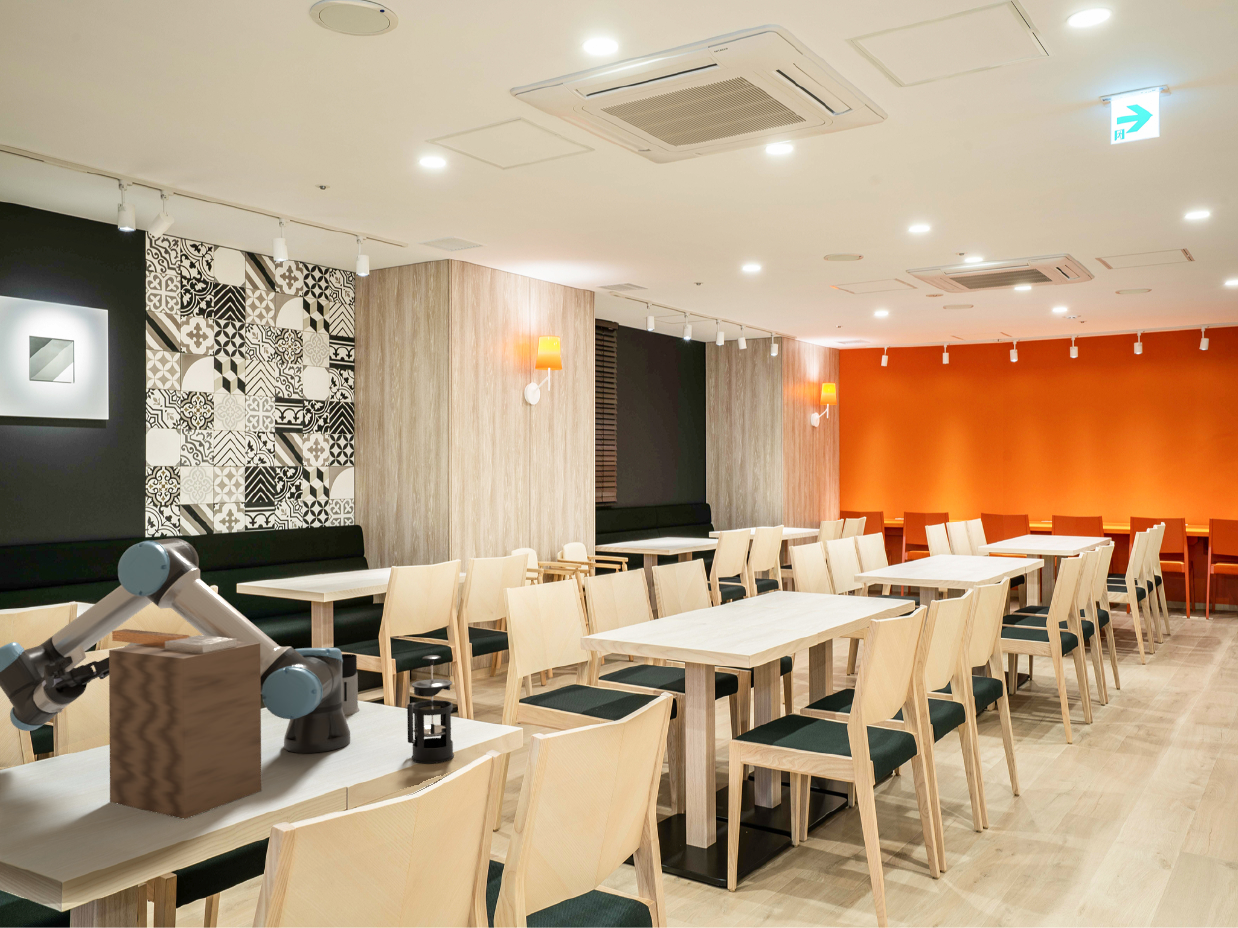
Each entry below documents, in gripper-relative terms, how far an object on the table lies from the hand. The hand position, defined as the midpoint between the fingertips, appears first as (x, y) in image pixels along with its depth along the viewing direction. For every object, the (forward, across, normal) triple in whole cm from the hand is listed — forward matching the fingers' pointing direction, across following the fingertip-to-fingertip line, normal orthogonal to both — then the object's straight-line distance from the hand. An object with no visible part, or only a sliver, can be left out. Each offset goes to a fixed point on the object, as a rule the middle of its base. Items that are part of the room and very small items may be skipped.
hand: (113, 646), depth 202 cm
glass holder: (-13, -64, -26) cm, 71 cm away
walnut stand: (+5, 0, -36) cm, 36 cm away
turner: (+15, -1, -7) cm, 17 cm away
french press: (+28, -43, -50) cm, 72 cm away
